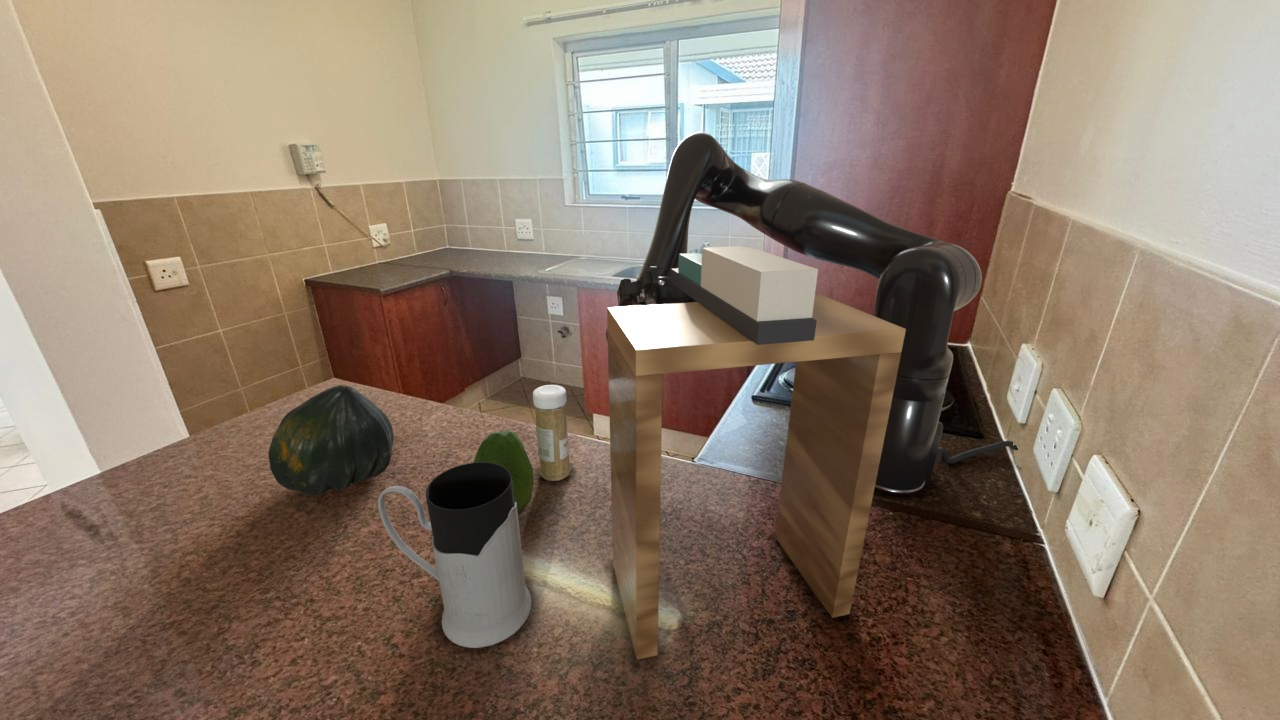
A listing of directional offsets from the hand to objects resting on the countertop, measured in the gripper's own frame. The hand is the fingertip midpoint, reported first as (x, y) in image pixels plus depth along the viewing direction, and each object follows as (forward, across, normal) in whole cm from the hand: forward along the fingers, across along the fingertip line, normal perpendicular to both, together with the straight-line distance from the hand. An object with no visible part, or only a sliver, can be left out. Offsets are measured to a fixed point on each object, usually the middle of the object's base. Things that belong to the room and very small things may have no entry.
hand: (692, 273), depth 55 cm
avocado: (-19, -23, +25) cm, 39 cm away
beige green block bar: (+8, 0, +6) cm, 10 cm away
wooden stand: (-3, 0, +34) cm, 34 cm away
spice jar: (-26, -16, +21) cm, 37 cm away
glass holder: (-7, -27, +32) cm, 43 cm away
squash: (-31, -46, +18) cm, 58 cm away
